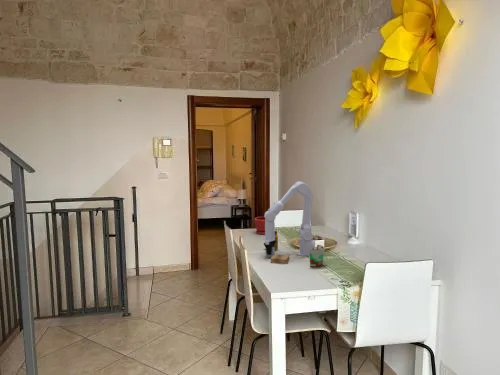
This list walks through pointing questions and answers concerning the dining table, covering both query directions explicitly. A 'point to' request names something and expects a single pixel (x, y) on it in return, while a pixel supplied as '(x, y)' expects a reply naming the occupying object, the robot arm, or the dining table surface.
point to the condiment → (275, 242)
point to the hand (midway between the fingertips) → (270, 253)
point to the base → (280, 259)
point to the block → (271, 252)
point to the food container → (316, 256)
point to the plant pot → (260, 225)
